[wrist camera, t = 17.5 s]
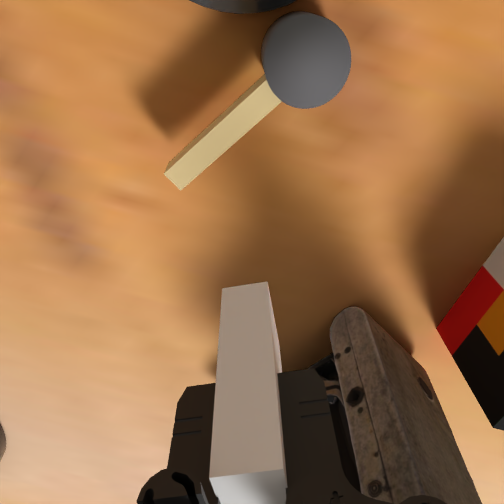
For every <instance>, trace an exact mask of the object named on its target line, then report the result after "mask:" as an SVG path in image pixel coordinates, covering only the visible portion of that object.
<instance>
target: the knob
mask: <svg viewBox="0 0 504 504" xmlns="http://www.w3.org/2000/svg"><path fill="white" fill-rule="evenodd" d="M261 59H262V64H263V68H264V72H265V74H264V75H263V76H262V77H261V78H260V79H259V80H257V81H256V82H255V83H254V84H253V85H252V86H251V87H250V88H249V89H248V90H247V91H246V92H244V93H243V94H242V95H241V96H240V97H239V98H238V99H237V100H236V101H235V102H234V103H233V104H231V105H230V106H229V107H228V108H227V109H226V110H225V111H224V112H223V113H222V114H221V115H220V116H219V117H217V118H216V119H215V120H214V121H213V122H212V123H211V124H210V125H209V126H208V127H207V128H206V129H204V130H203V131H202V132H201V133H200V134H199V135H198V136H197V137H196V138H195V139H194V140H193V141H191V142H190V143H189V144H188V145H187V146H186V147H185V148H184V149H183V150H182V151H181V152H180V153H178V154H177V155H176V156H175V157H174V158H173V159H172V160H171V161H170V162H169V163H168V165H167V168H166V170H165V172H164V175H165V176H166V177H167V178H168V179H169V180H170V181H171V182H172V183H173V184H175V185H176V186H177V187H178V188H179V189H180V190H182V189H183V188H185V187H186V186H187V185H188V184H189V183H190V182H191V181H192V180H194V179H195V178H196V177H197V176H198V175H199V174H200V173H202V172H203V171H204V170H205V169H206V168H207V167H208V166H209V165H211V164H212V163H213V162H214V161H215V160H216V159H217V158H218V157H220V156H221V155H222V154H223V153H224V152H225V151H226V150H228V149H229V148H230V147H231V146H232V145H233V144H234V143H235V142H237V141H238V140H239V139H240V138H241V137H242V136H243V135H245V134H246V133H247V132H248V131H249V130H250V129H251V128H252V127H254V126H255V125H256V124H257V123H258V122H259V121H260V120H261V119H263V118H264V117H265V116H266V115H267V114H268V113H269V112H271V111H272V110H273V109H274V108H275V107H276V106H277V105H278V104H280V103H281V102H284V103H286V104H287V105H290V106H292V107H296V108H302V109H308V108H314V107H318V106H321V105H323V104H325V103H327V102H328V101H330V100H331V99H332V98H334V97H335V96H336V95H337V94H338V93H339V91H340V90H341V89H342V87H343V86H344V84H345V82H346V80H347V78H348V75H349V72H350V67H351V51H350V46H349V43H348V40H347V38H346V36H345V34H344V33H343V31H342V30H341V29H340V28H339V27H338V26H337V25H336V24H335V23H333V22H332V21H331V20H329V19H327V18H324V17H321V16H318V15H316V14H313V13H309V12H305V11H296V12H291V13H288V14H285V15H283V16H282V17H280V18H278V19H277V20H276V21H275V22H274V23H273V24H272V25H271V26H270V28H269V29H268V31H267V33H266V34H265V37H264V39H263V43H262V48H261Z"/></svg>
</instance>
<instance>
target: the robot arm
mask: <svg viewBox="0 0 504 504" xmlns="http://www.w3.org/2000/svg"><path fill="white" fill-rule="evenodd" d="M5 449H6V438H5V434H4V431H3V429H2V427H1V425H0V461H1V459H2V457H3V455H4V452H5ZM137 503H138V504H394V503H389V502H385V501H380V500H376V499H373V498H370V497H367V496H365V495H364V494H362V493H360V492H359V491H357V490H356V489H355V488H354V487H353V486H352V485H351V484H350V483H349V481H348V480H347V478H346V477H345V475H344V472H343V469H342V465H341V461H340V456H339V451H338V446H337V441H336V436H335V432H334V427H333V422H332V417H331V412H330V407H329V403H328V398H327V393H326V388H325V383H324V381H323V380H322V378H321V377H320V376H319V375H318V373H317V372H316V371H315V370H314V368H312V369H305V370H298V371H291V372H283V373H282V366H281V356H280V346H279V340H278V335H277V329H276V324H275V319H274V313H273V308H272V303H271V297H270V292H269V287H268V281H267V282H260V283H254V284H247V285H241V286H234V287H228V288H222V299H221V313H220V328H219V342H218V357H217V371H216V383H211V384H204V385H197V386H190V387H187V388H186V390H185V391H184V393H183V395H182V396H181V398H180V399H179V401H178V403H177V409H176V416H175V423H174V428H173V438H172V441H171V447H170V454H169V460H168V466H167V469H164V470H161V471H160V472H158V473H157V474H155V475H154V476H152V477H151V478H150V479H149V480H148V481H147V483H146V484H145V485H144V486H143V488H142V489H141V491H140V494H139V496H138V499H137ZM399 504H447V503H445V502H443V501H442V500H440V499H438V498H436V497H431V496H426V495H418V496H411V497H409V498H407V499H405V500H404V501H402V502H401V503H399Z"/></svg>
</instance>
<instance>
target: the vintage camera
mask: <svg viewBox="0 0 504 504" xmlns="http://www.w3.org/2000/svg"><path fill="white" fill-rule="evenodd" d="M330 340H331V345H332V351H333V353H331V354H330V355H328V356H326V357H325V358H323V359H321V360H320V361H318V362H317V363H315V364H314V365H312V366H310V367H309V368H308V369H312V368H314V370H315V371H316V372H317V373H318V375H319V376H320V377H321V378H322V380H323V381H324V383H325V388H326V393H327V398H328V403H329V407H330V412H331V417H332V422H333V427H334V432H335V436H336V441H337V446H338V451H339V456H340V461H341V465H342V469H343V472H344V475H345V477H346V478H347V480H348V481H349V483H350V484H351V485H352V486H353V487H354V488H355V489H356V490H357V491H359V492H360V493H362V494H364V495H365V496H367V497H370V498H373V499H376V500H380V501H385V502H389V503H394V504H399V503H401V502H402V501H404V500H405V499H407V498H409V497H411V496H418V495H426V496H431V497H436V498H438V499H440V500H442V501H443V502H445V503H447V504H482V502H481V500H480V498H479V496H478V493H477V491H476V488H475V486H474V483H473V480H472V478H471V476H470V474H469V472H468V470H467V468H466V465H465V463H464V460H463V458H462V455H461V453H460V451H459V448H458V446H457V444H456V441H455V439H454V436H453V433H452V431H451V428H450V426H449V424H448V421H447V419H446V417H445V415H444V412H443V410H442V407H441V405H440V403H439V400H438V398H437V396H436V393H435V391H434V389H433V386H432V384H431V382H430V379H429V377H428V375H427V373H426V371H425V370H424V368H423V367H422V366H421V365H420V364H419V363H418V362H417V361H416V360H415V359H414V358H413V357H412V356H411V355H410V354H409V353H408V352H407V351H406V350H405V349H404V348H403V347H401V346H400V345H399V344H398V343H397V342H396V341H395V340H394V339H393V338H392V337H391V336H390V335H389V334H388V333H387V332H386V331H385V330H384V329H383V328H382V327H381V326H380V325H379V324H378V323H377V322H375V321H374V320H373V318H372V317H371V316H370V315H369V314H368V313H367V312H365V311H364V310H363V309H362V308H359V307H348V308H346V309H344V310H343V311H341V312H340V313H339V314H338V315H337V316H336V317H335V318H334V320H333V322H332V325H331V327H330Z"/></svg>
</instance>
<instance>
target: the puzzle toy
mask: <svg viewBox="0 0 504 504" xmlns="http://www.w3.org/2000/svg"><path fill="white" fill-rule="evenodd" d="M436 329H437V331H438V332H439V334H440V336H441V338H442V339H443V341H444V343H445V345H446V346H447V348H448V350H449V352H450V353H451V355H452V357H453V359H454V360H455V362H456V364H457V366H458V367H459V369H460V371H461V373H462V374H463V376H464V378H465V380H466V381H467V383H468V385H469V387H470V388H471V390H472V392H473V394H474V395H475V397H476V399H477V401H478V402H479V404H480V406H481V408H482V409H483V411H484V413H485V415H486V416H487V418H488V420H489V422H490V423H491V425H492V427H493V428H496V429H500V430H504V237H503V239H502V240H501V241H500V243H499V244H498V245H497V247H496V248H495V249H494V251H493V252H492V253H491V255H490V256H489V257H488V259H487V260H486V262H485V263H484V264H483V266H482V267H481V268H480V270H479V271H478V272H477V274H476V275H475V276H474V278H473V279H472V281H471V282H470V283H469V285H468V286H467V287H466V289H465V290H464V291H463V293H462V294H461V295H460V297H459V298H458V299H457V301H456V302H455V304H454V305H453V306H452V308H451V309H450V310H449V312H448V313H447V314H446V316H445V317H444V318H443V320H442V321H441V323H440V324H439V325H438V327H437V328H436Z"/></svg>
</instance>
